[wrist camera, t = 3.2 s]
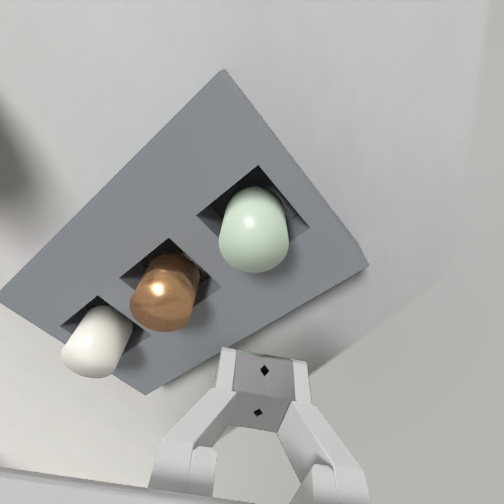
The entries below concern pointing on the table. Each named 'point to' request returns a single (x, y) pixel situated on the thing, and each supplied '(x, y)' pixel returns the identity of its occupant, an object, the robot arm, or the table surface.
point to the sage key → (254, 230)
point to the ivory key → (97, 342)
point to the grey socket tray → (186, 240)
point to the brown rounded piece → (166, 293)
